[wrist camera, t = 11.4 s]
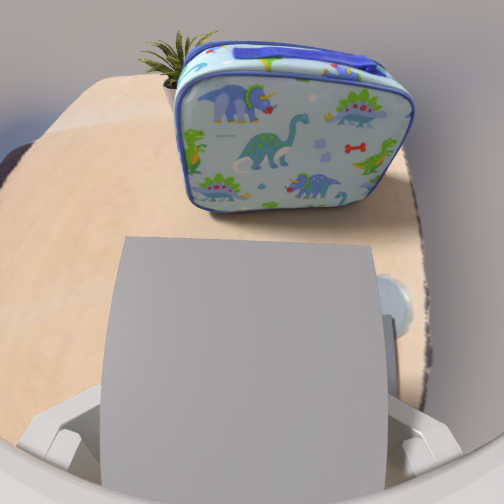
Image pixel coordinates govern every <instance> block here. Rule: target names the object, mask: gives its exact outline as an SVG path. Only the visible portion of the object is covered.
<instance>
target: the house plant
mask: <svg viewBox="0 0 504 504" xmlns="http://www.w3.org/2000/svg"><path fill="white" fill-rule="evenodd" d="M216 32H218V31H215V32H211V33H209V34H207V35H205V36H204V37H203V38H202V39H201V40H200V41H199V42H198V43H197V45H196V46H195V47H197V46H199V45H202V44H203V43H204V41H205V40H206V39H207V38H208V37H209V36H210V35H211V34H213V33H216ZM199 36H201V35H199ZM197 37H198V36H196V37H195V38H194V39H193V40H195V39H196V38H197ZM193 40H192V41H191V43H192V42H193ZM148 43H152V44H155V45H158V46H157V47H159V48H160V49H162V50H163V52H164V53H165V54H166V56H167V57H166V59H167V60H168V61H169V62H170V63H171V64H172V66H173V67H174V68H173V67H172V66H171V65H170V64H169V63H168V62H167V61H166V60H165V59H163V58H162V57H160V56H159V55H157V54H155V53H152V52H149V51H144V52H149V53H152V54H154V55H156V56H158V57H160V58H161V59H163V60H164V61H165V62H166V63H168V64H169V65H170V66H171V67H172V68H173V69H174V70H175V71H173V70H172V69H170V68H168V67H166V66H165V65H163V64H161V63H158V62H155V61H151V60H148V59H138V60H139V61H142V62H145V63H146V64H147V65H149V66H151V67H153V68H151V69H150V70H148V71H147V72H146V73H149V72H152V71H161V72H163V74H161V75H168V77H169V78H168V79H166V80H165V81H164V82H163V88H164V90H165V93H166V96H167V99H168V101H169V104H170V107H171V109H172V112H173V108H174V101H175V94H176V90H177V84H178V79H179V77H180V75H181V73H182V69H183V64H184V61H183V57H184V56H183V49H182V36H181V33H180V31H178V33H177V39H176V49H177V54H178V56H177V54H176V53H175V51H174V50H173V49H172V48H171V47H170V46H169V45H167V44H166V43H165V44H166V45H167V46H169V48H170V49H171V50H172V52H173V53H174V55H175V56H174V55H173V53H172V52H171V51H170V50H169V49H168V48H167V47H166V46H164V45H163V44H160V43H155V42H148ZM191 43H190V44H189V37H188V38H187V40H186V45H185V58H186V56H187V55H188V50H189V47H190V45H191ZM168 55H169V56H168ZM146 73H145V74H146Z"/></svg>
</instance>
